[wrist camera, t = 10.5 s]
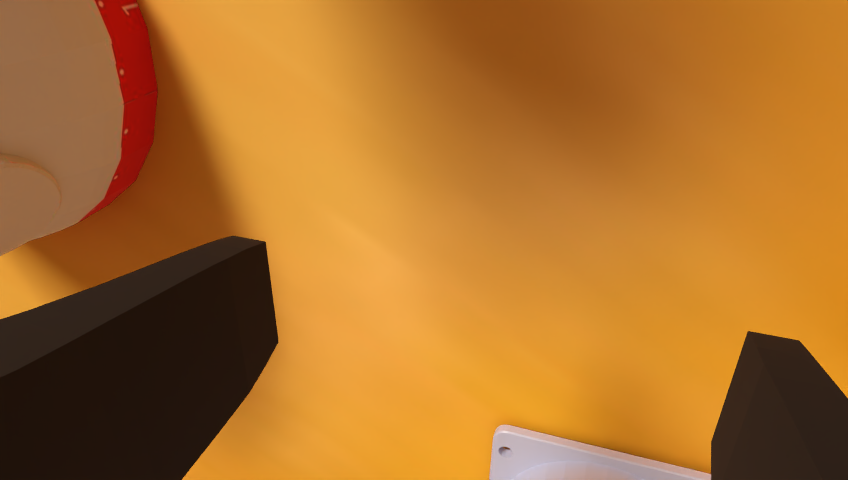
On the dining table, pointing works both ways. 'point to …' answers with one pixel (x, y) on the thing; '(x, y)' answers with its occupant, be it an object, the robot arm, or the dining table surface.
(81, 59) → the kitchen timer
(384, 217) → the dining table surface
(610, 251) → the dining table surface
